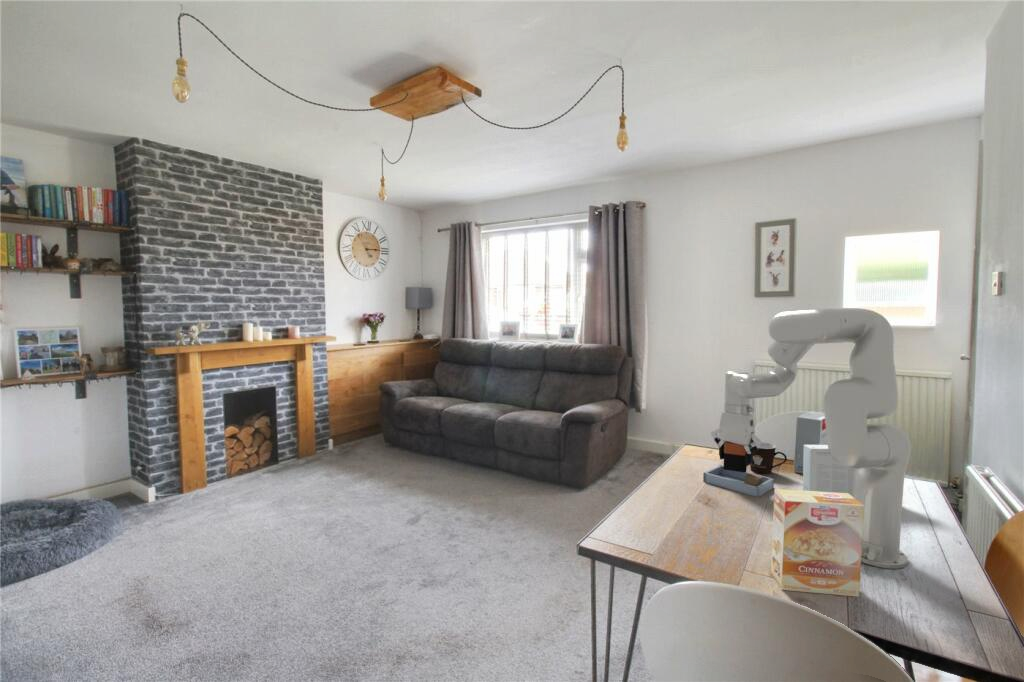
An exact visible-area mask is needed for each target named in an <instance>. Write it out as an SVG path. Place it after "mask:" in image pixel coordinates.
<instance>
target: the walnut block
mask: <svg viewBox="0 0 1024 682" xmlns="http://www.w3.org/2000/svg"><path fill="white" fill-rule="evenodd" d="M754 474H755V473H753V474H748V475H746V476H745V480H744V483H745V484H749V485H753V486H756V487H757V486H758V485H760V484H762V483H763V477H762V476H763V475H761V476H758V475H759V474H757V475H754Z"/></svg>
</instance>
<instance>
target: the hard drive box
mask: <svg viewBox="0 0 1024 682" xmlns="http://www.w3.org/2000/svg"><path fill="white" fill-rule="evenodd" d="M794 444H795V445H794V455H793V458H794V459H793V472H794V473H799V474H802V475H803V453H804V445H828V444H827V435H826V424H825V413H824V412H821V411H815V410H814V411H813V410H811V411H807V412H805V413H803V414H801V415H799V416H797V417H796V426H795V442H794Z"/></svg>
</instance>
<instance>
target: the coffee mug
mask: <svg viewBox="0 0 1024 682" xmlns="http://www.w3.org/2000/svg"><path fill="white" fill-rule="evenodd" d="M762 442H763V445H762V446H761V447H759V449H757V450H756V451H755V452H753V461H752V463H751V464H750V465H749V466H750V471H751V473H752V472H753V474H757V475H770V474H772V471H773V469H774V468H776V467H779V466H781V465H784V464H785V463H786V462H787V459H788V458H787V454H785V453H783V452H782V451H777V452H776V448H777V446H776V445H775V444H773V443H769V442H765V441H762ZM751 444H752V446H753V447H754V446H755V445H756V443H755V442H754V443H751ZM778 454H780V455H782V456H783V457H784V460H783V461H782V462H780V463H777V464H775V465H773V464H774V458H775V457H776V455H778Z"/></svg>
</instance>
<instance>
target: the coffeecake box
mask: <svg viewBox="0 0 1024 682" xmlns="http://www.w3.org/2000/svg"><path fill="white" fill-rule="evenodd" d="M773 492H774V493H773V494H774V495H773V496H774V497H773V518H772V538H771V539H772V540H771V558H770V559H771V560H770V562H771V563H770V564H771V565H770V573H771V574H772V576H773V578H774V580H775V581H776V583H777V584H778V587H779V588H780V590H782V591H790V592H802V593H803V592H804V593H812V594H814V593H815V594H823V595H824V594H825V595H833V596H845V597H846V596H848V597H857V598H858V597H860V587H861V586H860V585H861V571H862V569H861V568H862V567H861V566H862V562H861V554H862V537H863V520H864V505H863V504H861V503H860V502H859V501H858V500H856V499H855V498H854V497H853V496H851V495H850V494H849V493H835V492H819V491H803V489H802V490H801V489H800V490H797V489H786V488H785V489H784V488H783V489H782V488H774V491H773Z"/></svg>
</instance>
